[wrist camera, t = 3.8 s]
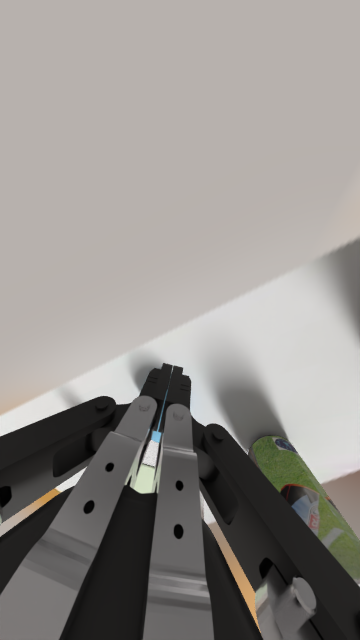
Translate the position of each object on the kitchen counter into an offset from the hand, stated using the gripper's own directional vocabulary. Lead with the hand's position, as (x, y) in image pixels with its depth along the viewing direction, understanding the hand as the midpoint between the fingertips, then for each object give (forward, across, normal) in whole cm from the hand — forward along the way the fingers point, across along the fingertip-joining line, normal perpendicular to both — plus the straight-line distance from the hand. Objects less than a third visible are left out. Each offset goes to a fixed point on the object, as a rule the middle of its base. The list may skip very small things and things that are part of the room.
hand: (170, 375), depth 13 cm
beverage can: (+8, -15, +12) cm, 21 cm away
